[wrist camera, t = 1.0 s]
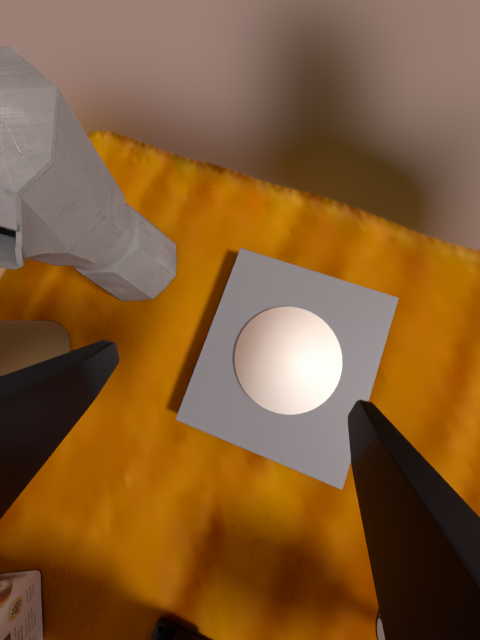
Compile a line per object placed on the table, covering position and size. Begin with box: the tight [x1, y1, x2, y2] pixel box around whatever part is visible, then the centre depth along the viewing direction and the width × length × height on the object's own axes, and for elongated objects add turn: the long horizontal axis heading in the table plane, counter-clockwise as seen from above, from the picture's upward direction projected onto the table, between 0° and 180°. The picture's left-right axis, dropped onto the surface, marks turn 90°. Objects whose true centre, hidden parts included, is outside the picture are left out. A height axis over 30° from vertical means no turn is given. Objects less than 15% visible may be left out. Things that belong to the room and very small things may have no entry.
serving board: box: [176, 248, 399, 490], centre depth 21 cm, size 18×16×2 cm
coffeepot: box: [0, 46, 177, 301], centre depth 16 cm, size 15×9×18 cm, turn 25°
